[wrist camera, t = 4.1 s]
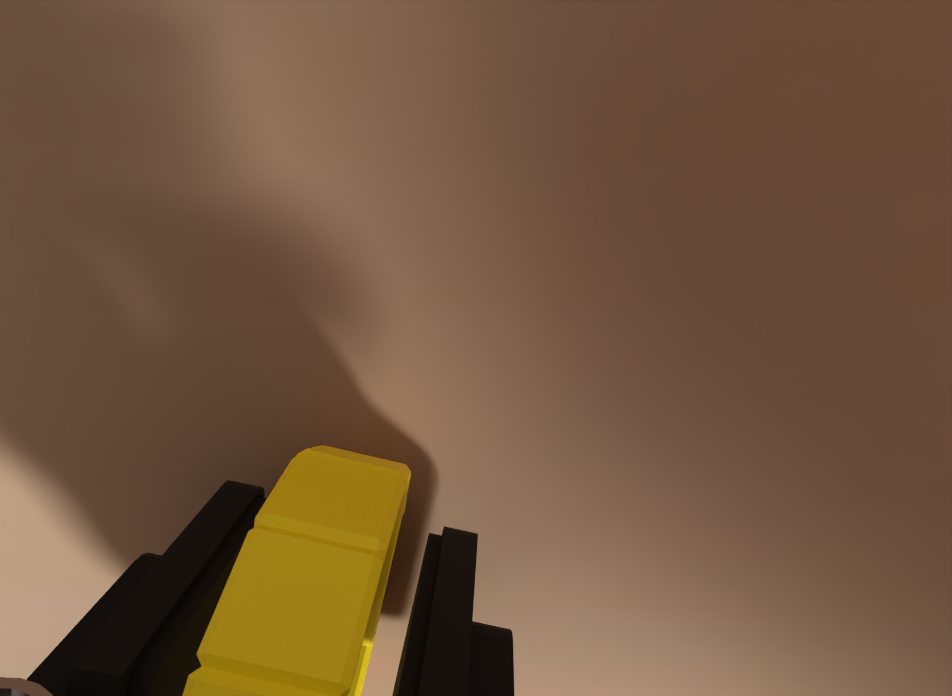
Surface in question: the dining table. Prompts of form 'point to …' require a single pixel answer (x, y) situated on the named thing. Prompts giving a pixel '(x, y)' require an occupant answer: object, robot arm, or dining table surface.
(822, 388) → the dining table surface
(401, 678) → the robot arm
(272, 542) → the watch
